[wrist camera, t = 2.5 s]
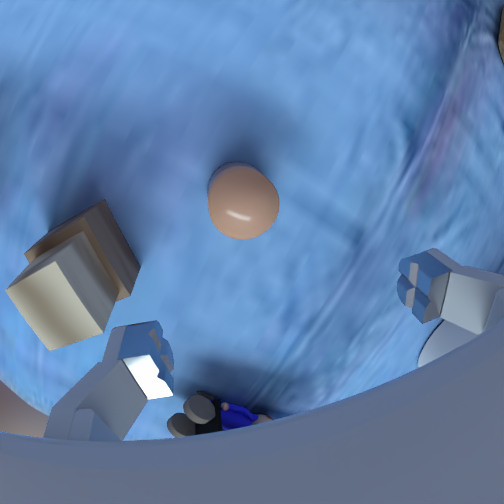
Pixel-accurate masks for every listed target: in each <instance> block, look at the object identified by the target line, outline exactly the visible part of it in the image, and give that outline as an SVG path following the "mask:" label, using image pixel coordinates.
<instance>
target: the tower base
mask: <svg viewBox="0 0 504 504" xmlns="http://www.w3.org/2000/svg"><path fill="white" fill-rule="evenodd" d="M82 231H84V232H85V234H86V236H87V237H88V239H89V241H90V243H91V245H92V247H93V248H94V250H95V252H96V254H97V255H98V257H99V259H100V261H101V262H102V264H103V266H104V267H105V269H106V271H107V272H108V274H109V276H110V277H111V279H112V281H113V282H114V284H115V285H116V287H117V289H118V290H119V294H118V297H117V299H116V301H119V300H121V299H124V298H126V297H129V296H130V295H131V292H132V290H133V287H134V284H135V281H136V278H137V276H138V273H139V270H140V268H141V267H140V265H139V263H138V261H137V260H136V258H135V256H134V254H133V253H132V251H131V249H130V247H129V245H128V244H127V242H126V240H125V238H124V236H123V234H122V232H121V231H120V229H119V227H118V225H117V223H116V221H115V219H114V217H113V215H112V213H111V211H110V209H109V207H108V205H107V203H106V201H105V199H104V200H102V201H101V202H99V203H97V204H95V205H93V206H92V207H90V208H88V209H86V210H84V211H83V212H81V213H79V214H77V215H76V216H74V217H72V218H71V219H69V220H67V221H66V222H64V223H62V224H61V225H59V226H57V227H56V228H54V229H52V230H51V231H49V232H48V233H47V234H46V235H44V236H43V237H42V238H41V239H40V240H39V241H38V242H36V243H35V244H34V245H33V246H32V247H31V248H30V249H29V250H28V251H27V252H25V253H24V255H25V256H26V258H27V260H28V261H29V263H31V262H32V261H33V260H34V259H35V258H36V257H38V256H40V255H41V254H43V253H45V252H46V251H48V250H50V249H51V248H53V247H55V246H57V245H58V244H60V243H62V242H64V241H65V240H67V239H69V238H71V237H73V236H75V235H76V234H78V233H80V232H82Z"/></svg>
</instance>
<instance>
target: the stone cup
mask: <svg viewBox="0 0 504 504" xmlns="http://www.w3.org/2000/svg"><path fill="white" fill-rule="evenodd" d="M498 45H499V50H500V54H501V57H502V60H503V63H504V7H503V10H502V16H501V23H500V31H499V38H498Z"/></svg>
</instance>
